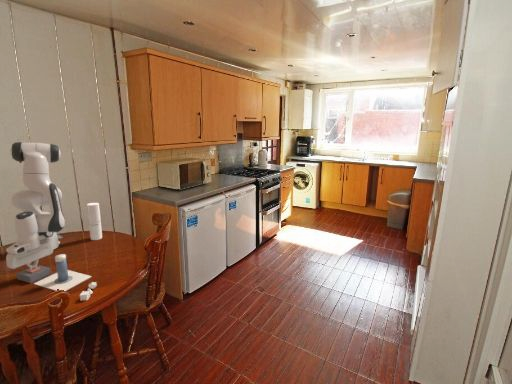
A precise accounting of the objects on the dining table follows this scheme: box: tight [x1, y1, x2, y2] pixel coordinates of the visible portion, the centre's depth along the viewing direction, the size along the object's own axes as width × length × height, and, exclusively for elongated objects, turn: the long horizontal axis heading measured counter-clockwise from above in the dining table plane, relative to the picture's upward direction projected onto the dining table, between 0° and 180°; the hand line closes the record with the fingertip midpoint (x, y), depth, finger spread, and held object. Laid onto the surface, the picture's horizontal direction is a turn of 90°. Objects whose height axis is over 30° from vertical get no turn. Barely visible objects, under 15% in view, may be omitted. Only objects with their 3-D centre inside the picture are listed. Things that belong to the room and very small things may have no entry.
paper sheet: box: [33, 269, 92, 292], centre depth 145 cm, size 20×16×1 cm
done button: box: [26, 267, 41, 274], centre depth 147 cm, size 4×4×3 cm
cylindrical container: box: [86, 202, 103, 241], centre depth 197 cm, size 7×7×25 cm
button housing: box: [16, 264, 52, 284], centre depth 147 cm, size 10×10×4 cm
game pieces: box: [79, 281, 98, 302], centre depth 134 cm, size 12×3×3 cm, turn 8°
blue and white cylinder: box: [54, 253, 69, 282], centre depth 143 cm, size 5×5×13 cm
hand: (33, 268), depth 147 cm, fingers closed
